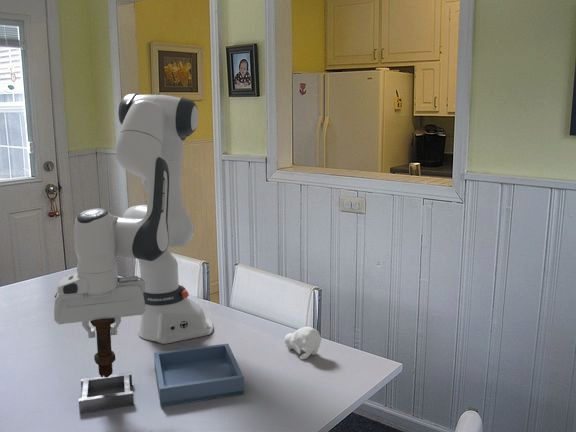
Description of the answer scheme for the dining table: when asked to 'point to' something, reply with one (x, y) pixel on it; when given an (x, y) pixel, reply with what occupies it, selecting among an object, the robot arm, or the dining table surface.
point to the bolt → (104, 346)
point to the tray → (197, 374)
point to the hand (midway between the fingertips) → (103, 335)
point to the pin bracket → (106, 400)
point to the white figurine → (304, 341)
